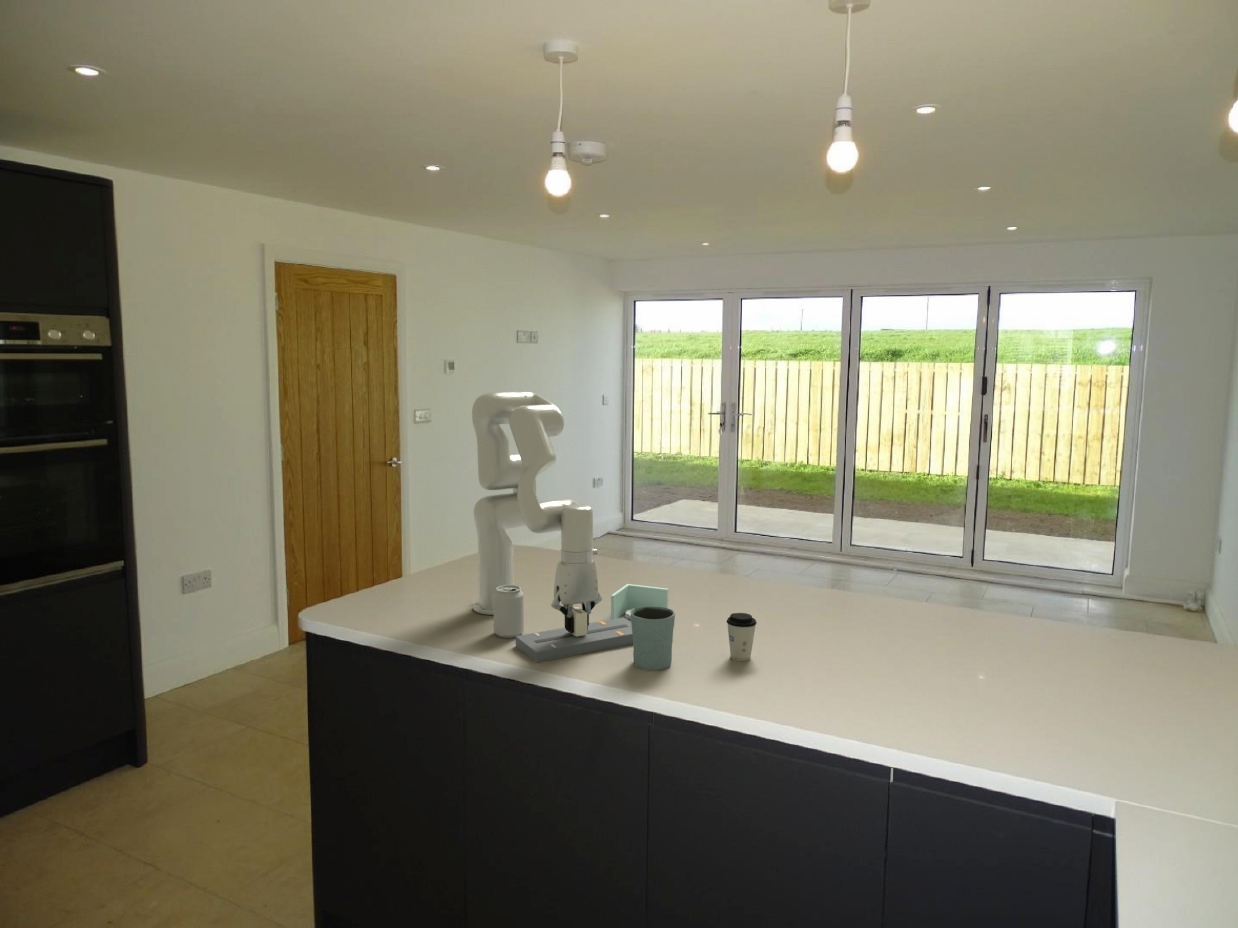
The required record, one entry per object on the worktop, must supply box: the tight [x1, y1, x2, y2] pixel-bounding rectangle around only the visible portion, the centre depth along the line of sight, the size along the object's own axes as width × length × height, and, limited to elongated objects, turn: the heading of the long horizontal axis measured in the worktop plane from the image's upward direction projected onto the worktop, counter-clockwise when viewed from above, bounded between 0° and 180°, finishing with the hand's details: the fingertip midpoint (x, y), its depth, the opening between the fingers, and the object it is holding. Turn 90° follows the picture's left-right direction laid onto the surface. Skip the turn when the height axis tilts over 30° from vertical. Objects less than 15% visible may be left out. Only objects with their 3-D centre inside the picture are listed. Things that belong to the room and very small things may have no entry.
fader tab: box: [571, 606, 587, 637], centre depth 199 cm, size 5×3×6 cm, turn 30°
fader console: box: [515, 616, 633, 663], centre depth 200 cm, size 12×30×3 cm, turn 120°
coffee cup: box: [726, 612, 758, 662], centre depth 191 cm, size 7×7×10 cm
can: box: [493, 584, 525, 639], centre depth 206 cm, size 8×8×12 cm
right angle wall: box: [610, 583, 669, 621], centre depth 220 cm, size 12×12×8 cm
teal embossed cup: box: [630, 606, 676, 671], centre depth 187 cm, size 10×10×12 cm
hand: (576, 629), depth 199 cm, fingers closed on fader tab, 3 cm apart
